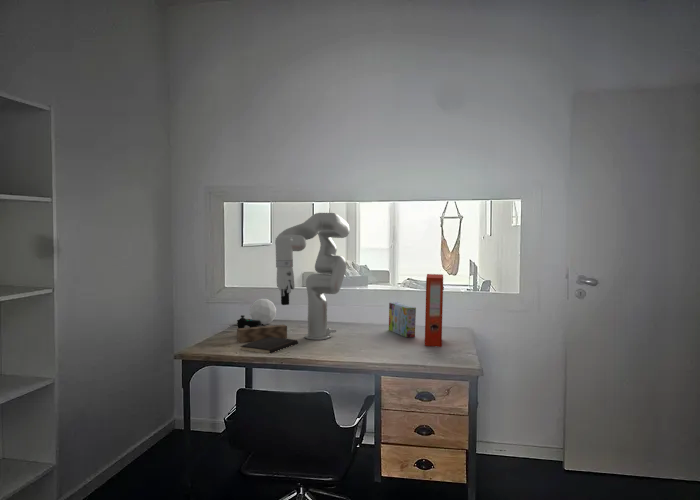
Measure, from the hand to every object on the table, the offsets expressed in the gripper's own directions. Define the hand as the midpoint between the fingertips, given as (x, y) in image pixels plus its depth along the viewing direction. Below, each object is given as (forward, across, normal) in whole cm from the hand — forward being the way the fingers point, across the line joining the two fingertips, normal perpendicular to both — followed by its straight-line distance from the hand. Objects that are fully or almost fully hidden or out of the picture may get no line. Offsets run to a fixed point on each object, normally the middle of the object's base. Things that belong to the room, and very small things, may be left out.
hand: (285, 304), depth 262 cm
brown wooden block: (+21, +24, +2) cm, 32 cm away
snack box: (+23, +5, -66) cm, 70 cm away
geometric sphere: (+22, +63, -13) cm, 68 cm away
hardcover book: (+21, +8, +4) cm, 23 cm away
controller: (+21, +36, +5) cm, 42 cm away
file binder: (+22, -20, -68) cm, 74 cm away
